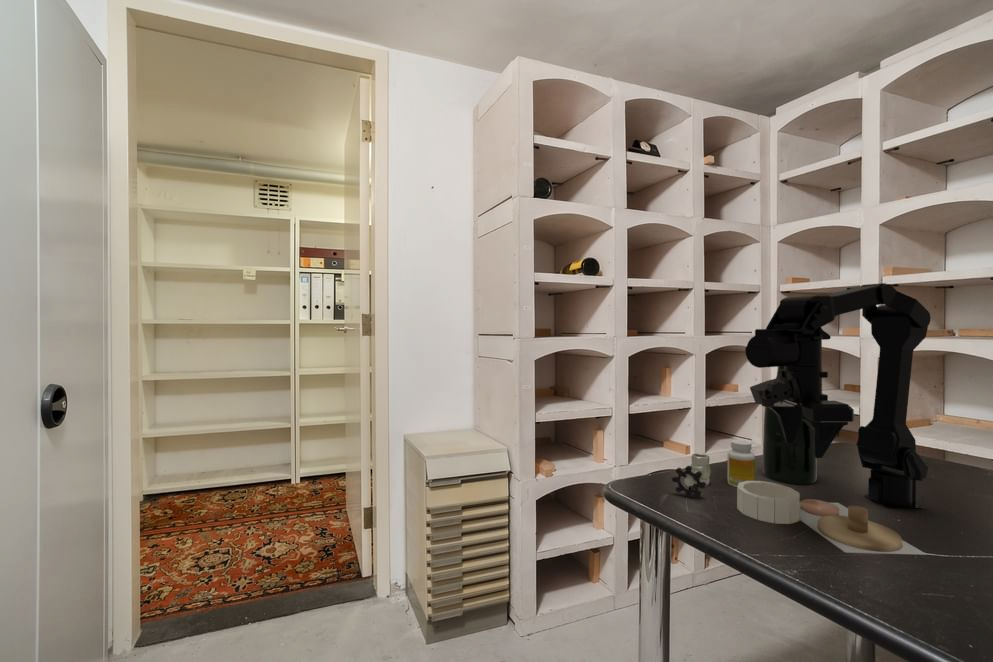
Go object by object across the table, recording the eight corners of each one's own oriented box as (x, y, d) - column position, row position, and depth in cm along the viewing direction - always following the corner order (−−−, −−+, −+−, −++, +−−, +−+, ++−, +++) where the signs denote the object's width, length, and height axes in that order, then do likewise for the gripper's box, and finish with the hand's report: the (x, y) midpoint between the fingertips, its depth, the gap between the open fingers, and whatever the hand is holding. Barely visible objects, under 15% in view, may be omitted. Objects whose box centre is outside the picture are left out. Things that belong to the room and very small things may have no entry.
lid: (867, 521, 81) (867, 496, 81) (920, 552, 70) (921, 523, 70) (803, 520, 82) (803, 495, 82) (846, 551, 71) (846, 522, 71)
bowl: (780, 503, 90) (780, 481, 90) (811, 526, 80) (811, 501, 80) (728, 502, 91) (728, 480, 91) (753, 524, 81) (753, 499, 81)
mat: (838, 504, 90) (838, 502, 90) (927, 557, 70) (927, 554, 70) (775, 503, 90) (775, 501, 90) (845, 554, 70) (845, 552, 70)
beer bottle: (828, 485, 100) (829, 336, 100) (786, 488, 99) (787, 336, 98) (791, 470, 111) (791, 335, 110) (752, 472, 109) (752, 335, 108)
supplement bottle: (758, 490, 97) (759, 445, 97) (731, 489, 98) (731, 444, 98) (750, 482, 103) (750, 439, 102) (724, 480, 104) (724, 438, 104)
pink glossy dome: (825, 504, 89) (825, 499, 89) (847, 517, 83) (847, 512, 83) (793, 503, 89) (793, 498, 89) (812, 516, 83) (812, 511, 83)
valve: (687, 479, 105) (671, 494, 96) (687, 450, 105) (671, 463, 96) (718, 485, 101) (704, 502, 92) (718, 455, 101) (705, 469, 92)
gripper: (734, 360, 93) (735, 436, 93) (782, 371, 74) (783, 465, 74) (792, 360, 92) (793, 437, 92) (856, 370, 73) (856, 466, 73)
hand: (803, 450), depth 83 cm, fingers open, 9 cm apart
